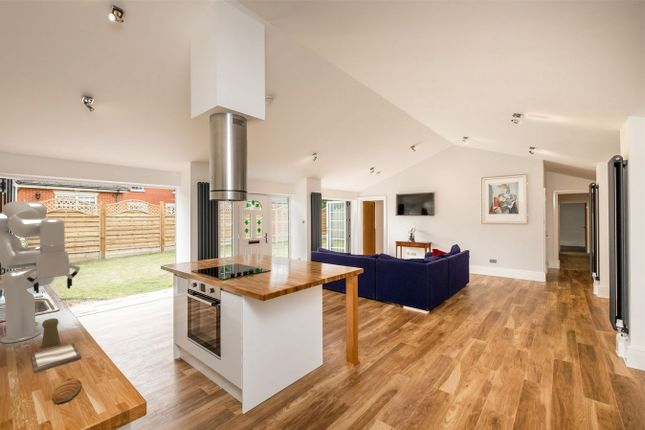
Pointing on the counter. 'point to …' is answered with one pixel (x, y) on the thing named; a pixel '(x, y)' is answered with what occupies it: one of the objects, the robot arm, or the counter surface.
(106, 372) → the counter surface
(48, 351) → the silver rectangular plate
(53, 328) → the cork
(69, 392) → the pastry
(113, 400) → the counter surface
